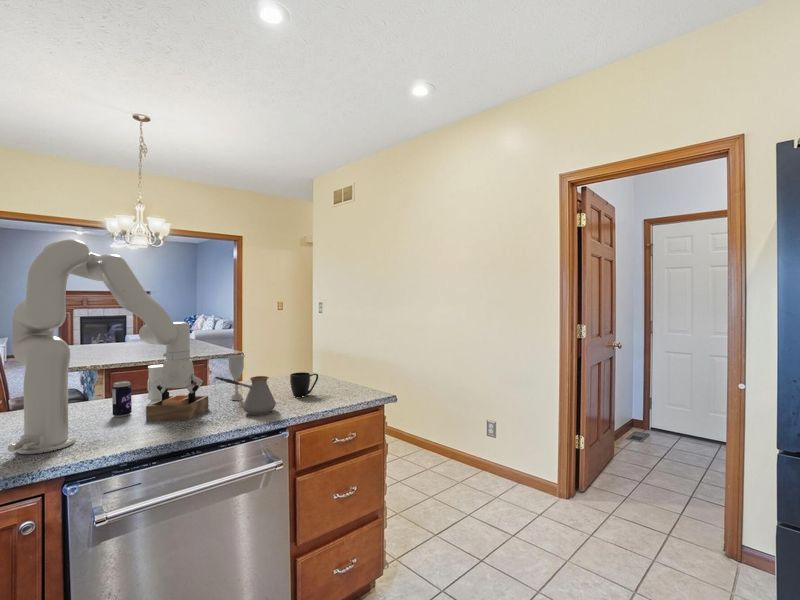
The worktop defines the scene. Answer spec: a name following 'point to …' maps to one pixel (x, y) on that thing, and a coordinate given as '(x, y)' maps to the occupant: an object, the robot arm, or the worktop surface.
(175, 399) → the terracotta crate
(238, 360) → the chalice
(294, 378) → the mug
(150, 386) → the candle
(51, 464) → the worktop surface
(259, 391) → the coffee pot
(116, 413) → the beverage can
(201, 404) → the walnut crate
